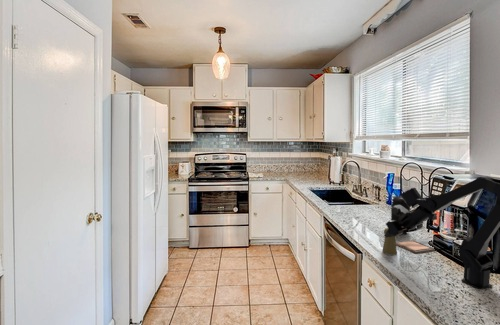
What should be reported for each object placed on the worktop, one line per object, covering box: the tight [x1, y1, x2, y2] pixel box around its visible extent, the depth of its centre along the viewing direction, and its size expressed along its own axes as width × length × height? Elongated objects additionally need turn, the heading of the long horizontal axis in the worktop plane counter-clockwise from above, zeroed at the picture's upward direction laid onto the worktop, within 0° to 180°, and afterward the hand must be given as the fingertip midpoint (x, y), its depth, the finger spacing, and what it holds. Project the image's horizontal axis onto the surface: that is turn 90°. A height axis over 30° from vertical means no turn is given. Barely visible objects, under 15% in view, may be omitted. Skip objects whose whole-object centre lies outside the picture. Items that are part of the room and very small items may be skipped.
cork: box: [381, 227, 398, 256], centre depth 132 cm, size 6×6×11 cm
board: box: [396, 238, 435, 255], centre depth 140 cm, size 12×20×1 cm, turn 108°
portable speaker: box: [390, 195, 411, 235], centre depth 160 cm, size 9×9×20 cm
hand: (391, 234), depth 132 cm, fingers open, 9 cm apart
